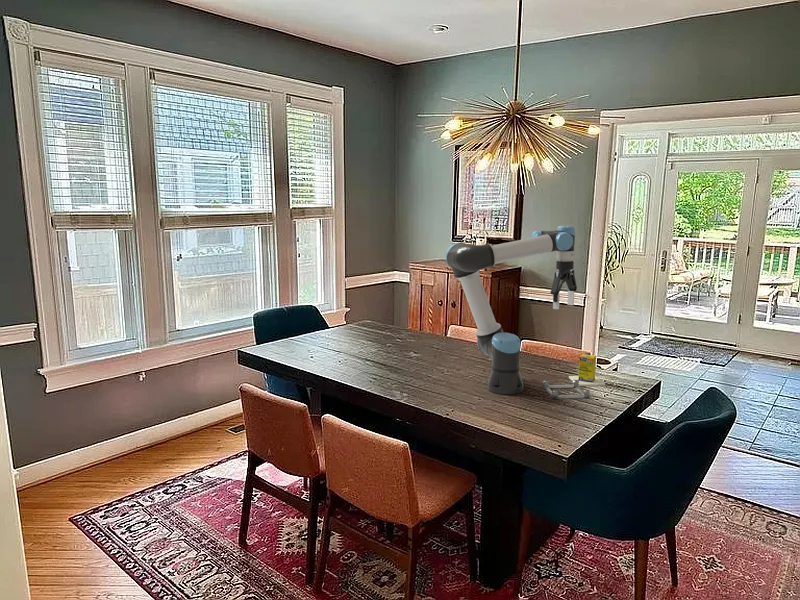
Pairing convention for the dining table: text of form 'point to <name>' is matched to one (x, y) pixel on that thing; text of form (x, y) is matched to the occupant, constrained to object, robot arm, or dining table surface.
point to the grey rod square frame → (575, 385)
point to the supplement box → (587, 368)
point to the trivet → (584, 383)
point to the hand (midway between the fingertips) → (563, 307)
